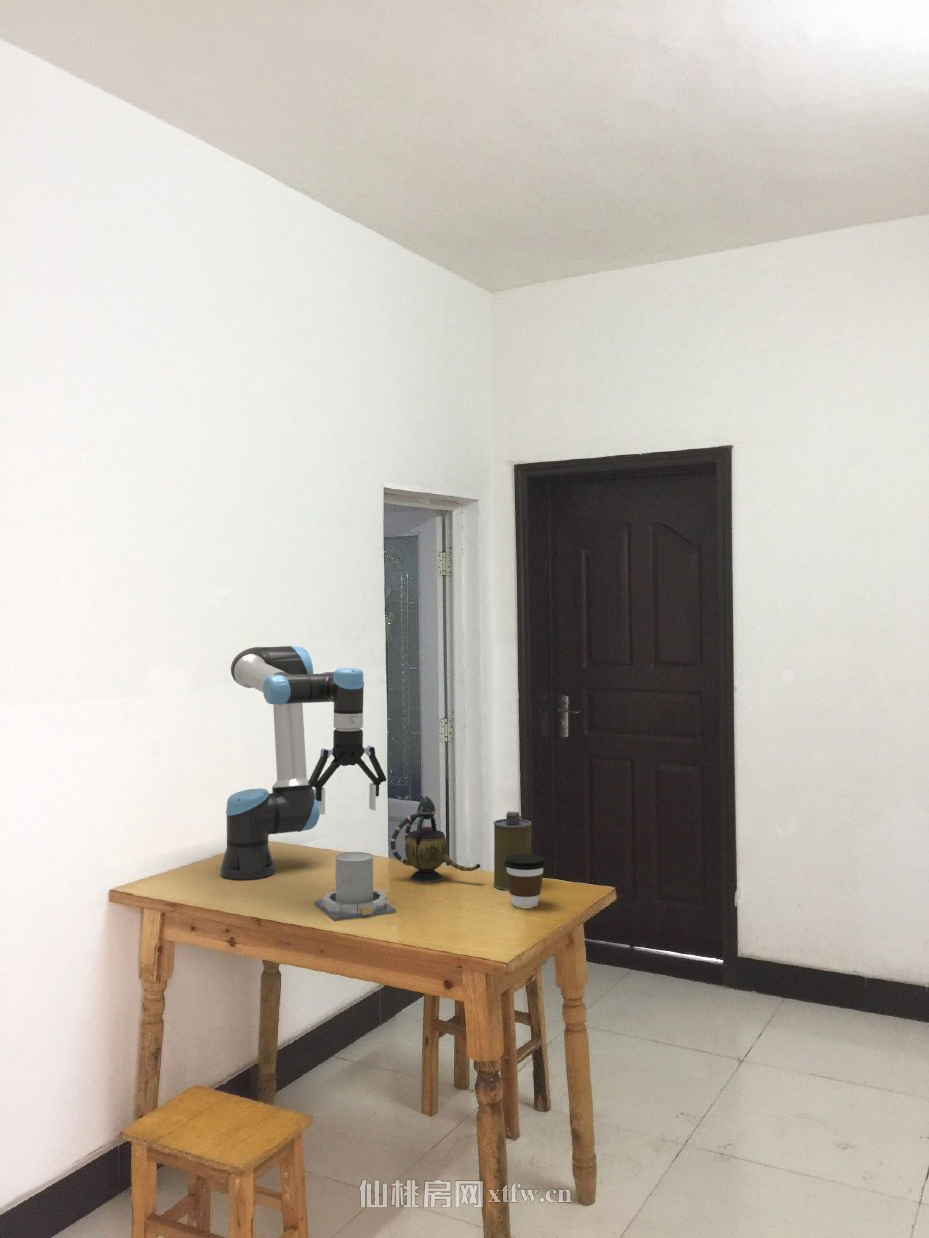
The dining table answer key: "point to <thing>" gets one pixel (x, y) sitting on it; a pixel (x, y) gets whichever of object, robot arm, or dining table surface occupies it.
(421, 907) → the dining table surface
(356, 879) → the grey speckled cylinder
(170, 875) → the dining table surface
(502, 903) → the dining table surface
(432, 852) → the teapot
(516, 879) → the coffee cup
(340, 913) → the socket
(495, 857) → the canister
